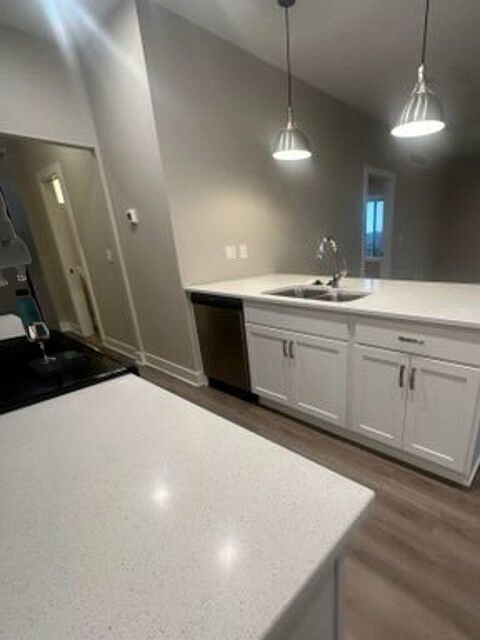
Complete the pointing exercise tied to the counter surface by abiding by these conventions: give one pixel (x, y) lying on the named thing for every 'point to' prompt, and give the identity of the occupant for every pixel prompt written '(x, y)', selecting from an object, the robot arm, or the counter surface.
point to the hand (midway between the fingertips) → (13, 283)
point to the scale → (57, 364)
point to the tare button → (70, 354)
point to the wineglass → (38, 337)
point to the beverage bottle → (27, 308)
